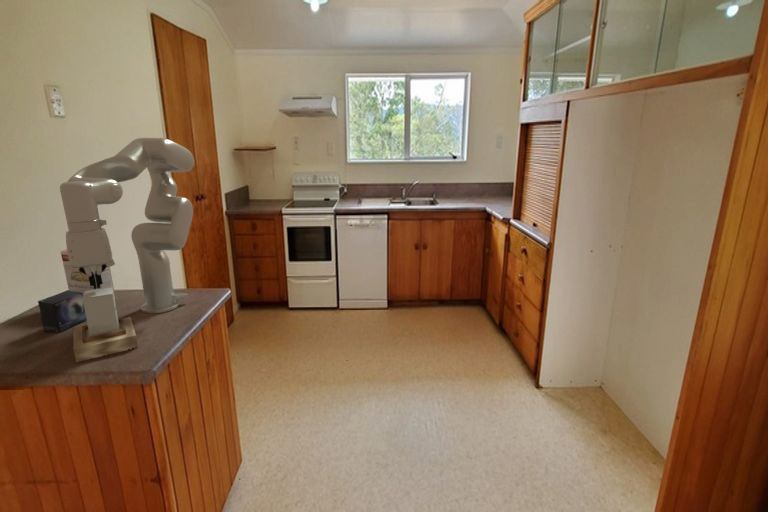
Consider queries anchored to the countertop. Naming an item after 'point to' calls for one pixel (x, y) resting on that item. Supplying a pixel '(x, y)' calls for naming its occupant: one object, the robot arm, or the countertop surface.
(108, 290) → the supplement box
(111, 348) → the maple plinth
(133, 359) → the countertop surface
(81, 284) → the cracker box
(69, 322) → the small box
